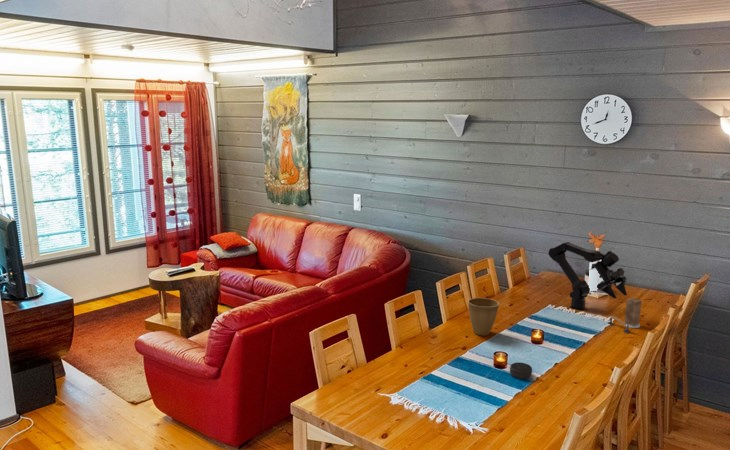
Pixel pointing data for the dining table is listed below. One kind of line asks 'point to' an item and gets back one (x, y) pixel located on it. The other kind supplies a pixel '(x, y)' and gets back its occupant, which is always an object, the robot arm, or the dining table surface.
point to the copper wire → (619, 322)
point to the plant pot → (482, 314)
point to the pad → (634, 326)
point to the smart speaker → (521, 370)
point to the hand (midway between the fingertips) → (620, 296)
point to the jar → (586, 275)
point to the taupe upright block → (632, 311)
